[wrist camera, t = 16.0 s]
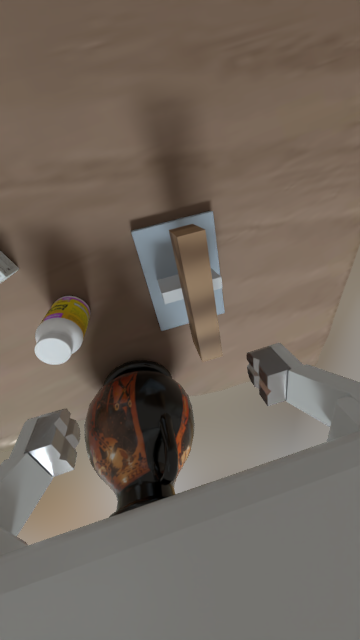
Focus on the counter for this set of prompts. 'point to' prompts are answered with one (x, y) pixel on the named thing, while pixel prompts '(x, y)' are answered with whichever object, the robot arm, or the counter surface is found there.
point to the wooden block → (197, 288)
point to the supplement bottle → (62, 330)
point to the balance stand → (173, 267)
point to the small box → (6, 267)
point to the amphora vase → (139, 433)
